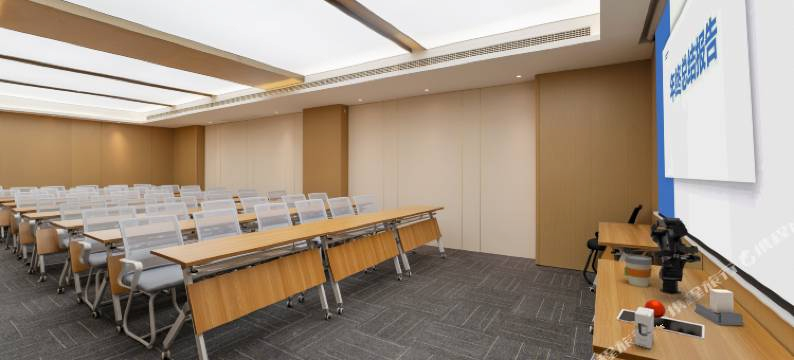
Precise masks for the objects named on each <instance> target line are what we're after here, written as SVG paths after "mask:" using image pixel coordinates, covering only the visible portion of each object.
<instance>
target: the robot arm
mask: <svg viewBox="0 0 794 360" xmlns="http://www.w3.org/2000/svg"><path fill="white" fill-rule="evenodd" d="M654 221H655V222H654V223H653V224H652V225H651V226H650V228H649V237H650V238H651V240H652V242H654V243H656V246H657V248H658V250H655V252H654V257H655V258H659V259H660V258H661V262H662V263H661V267H660V270H659V272H658V277H659V278H658V279H660V280H661V281H662V283H661V284H662V288H660V289H659V291H662V292H665V293H669V294H671V295H674V294H680V293H682V291H681V290H679V282H683V275H684V272H683V271H684V268H685V265H686V263H688V264H690V263H691V264H692V263H698V262H702V261H701V256H700V255H698V253H699V248H698V246H695V245H691V246H686V245H687V244H685V243H683V238H685V236H686V235H687V234H688V232H689V230H688V229H687V227H686V224H685V223H684V222H683V221H682V219H681V218H679V217H663V218H662V219H656V220H654Z"/></svg>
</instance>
